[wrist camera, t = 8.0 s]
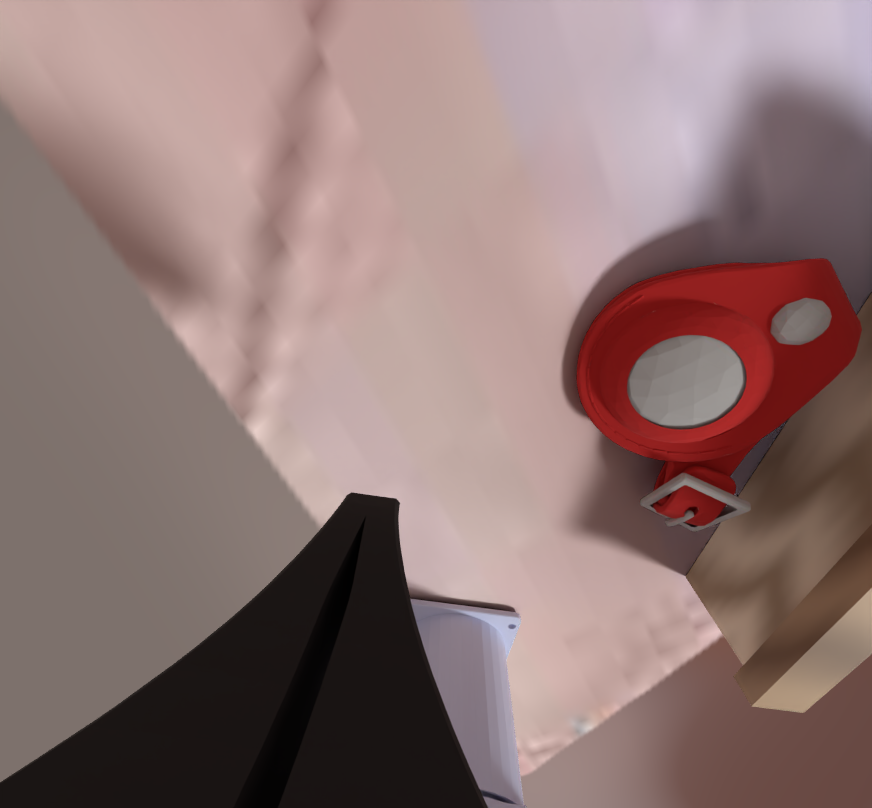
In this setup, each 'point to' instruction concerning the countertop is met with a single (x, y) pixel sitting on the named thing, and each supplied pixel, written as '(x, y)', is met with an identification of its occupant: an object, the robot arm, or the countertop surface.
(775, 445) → the wall board
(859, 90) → the countertop surface
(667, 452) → the tracker holder
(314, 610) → the robot arm
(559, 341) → the countertop surface
